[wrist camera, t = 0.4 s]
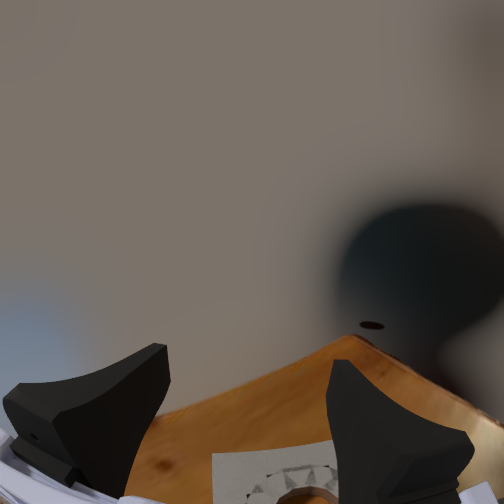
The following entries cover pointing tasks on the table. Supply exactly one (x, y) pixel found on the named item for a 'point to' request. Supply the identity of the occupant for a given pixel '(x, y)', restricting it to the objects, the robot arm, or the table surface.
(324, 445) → the grey square plate
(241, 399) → the table surface
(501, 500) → the grey rounded cylinder
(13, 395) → the robot arm
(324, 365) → the table surface
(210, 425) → the table surface
